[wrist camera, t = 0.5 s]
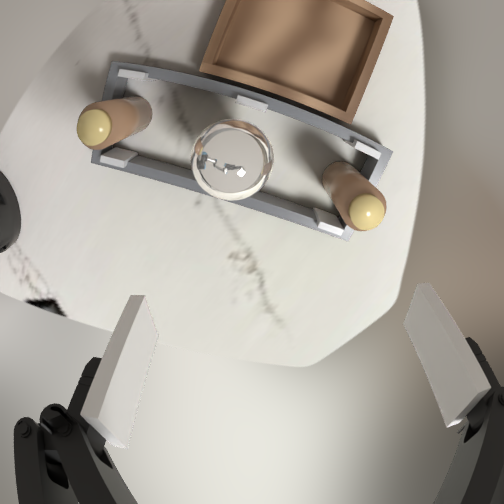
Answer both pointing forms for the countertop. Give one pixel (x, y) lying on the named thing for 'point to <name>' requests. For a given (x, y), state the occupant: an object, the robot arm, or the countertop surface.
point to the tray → (300, 49)
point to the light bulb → (232, 159)
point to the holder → (259, 200)
